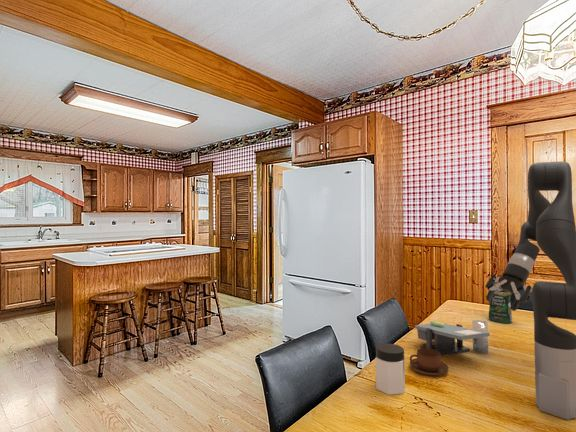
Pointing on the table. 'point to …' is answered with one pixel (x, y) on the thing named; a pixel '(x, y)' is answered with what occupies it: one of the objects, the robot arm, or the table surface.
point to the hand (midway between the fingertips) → (500, 305)
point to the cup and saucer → (428, 362)
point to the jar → (390, 369)
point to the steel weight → (481, 343)
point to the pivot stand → (444, 343)
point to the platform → (449, 331)
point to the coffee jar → (500, 307)
